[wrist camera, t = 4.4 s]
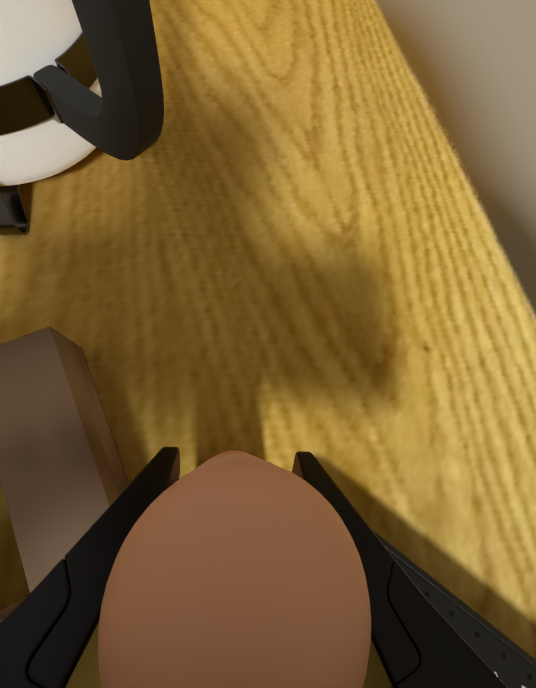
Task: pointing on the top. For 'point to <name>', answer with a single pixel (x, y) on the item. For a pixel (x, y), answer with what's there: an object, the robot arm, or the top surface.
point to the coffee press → (73, 90)
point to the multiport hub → (473, 628)
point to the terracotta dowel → (236, 587)
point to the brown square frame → (52, 450)
